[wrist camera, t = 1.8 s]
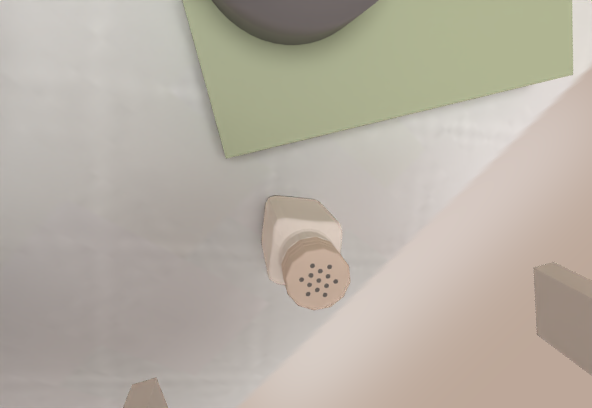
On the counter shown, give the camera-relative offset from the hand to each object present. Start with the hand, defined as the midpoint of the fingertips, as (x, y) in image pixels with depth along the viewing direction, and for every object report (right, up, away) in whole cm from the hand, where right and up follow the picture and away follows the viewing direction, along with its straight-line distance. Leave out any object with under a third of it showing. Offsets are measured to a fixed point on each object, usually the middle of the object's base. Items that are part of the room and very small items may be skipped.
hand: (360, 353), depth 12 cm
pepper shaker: (-3, +4, +15) cm, 15 cm away
